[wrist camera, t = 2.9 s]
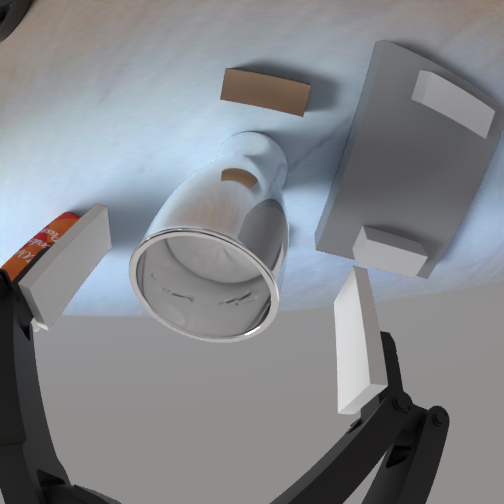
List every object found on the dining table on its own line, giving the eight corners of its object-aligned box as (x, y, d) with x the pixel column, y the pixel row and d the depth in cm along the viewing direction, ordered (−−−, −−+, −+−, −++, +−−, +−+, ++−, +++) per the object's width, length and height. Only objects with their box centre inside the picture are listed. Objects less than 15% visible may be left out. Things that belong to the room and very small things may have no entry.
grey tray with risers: (375, 41, 16) (394, 38, 12) (493, 104, 16) (522, 117, 12) (314, 234, 27) (316, 264, 23) (420, 262, 27) (433, 292, 23)
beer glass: (309, 174, 24) (317, 315, 12) (246, 216, 27) (203, 358, 15) (256, 109, 21) (195, 186, 9) (194, 160, 24) (99, 275, 12)
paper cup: (103, 223, 30) (29, 314, 19) (95, 266, 34) (38, 349, 23) (53, 193, 28) (-27, 268, 17) (50, 238, 33) (-12, 311, 21)
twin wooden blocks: (231, 67, 19) (225, 68, 17) (309, 84, 19) (311, 85, 17) (206, 234, 29) (200, 246, 27) (266, 248, 29) (264, 261, 27)
